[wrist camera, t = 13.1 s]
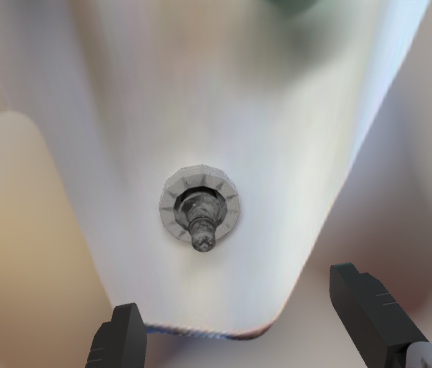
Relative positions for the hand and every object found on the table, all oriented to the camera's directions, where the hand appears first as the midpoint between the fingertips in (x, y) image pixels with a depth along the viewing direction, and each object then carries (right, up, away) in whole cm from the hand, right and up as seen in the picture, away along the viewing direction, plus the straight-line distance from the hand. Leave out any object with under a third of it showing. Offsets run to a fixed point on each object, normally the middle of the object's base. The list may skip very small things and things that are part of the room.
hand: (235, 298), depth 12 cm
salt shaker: (-3, +2, +32) cm, 33 cm away
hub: (-3, +2, +32) cm, 32 cm away
